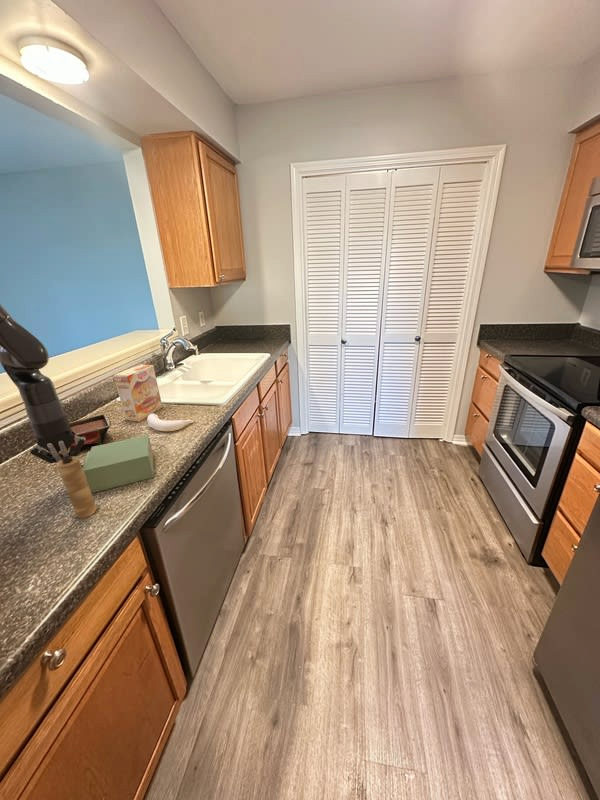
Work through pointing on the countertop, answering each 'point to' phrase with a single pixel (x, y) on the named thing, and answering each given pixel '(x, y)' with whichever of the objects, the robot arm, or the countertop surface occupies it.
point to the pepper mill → (76, 486)
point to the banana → (166, 423)
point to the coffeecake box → (138, 392)
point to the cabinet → (119, 463)
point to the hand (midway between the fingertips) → (69, 471)
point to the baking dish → (91, 429)
